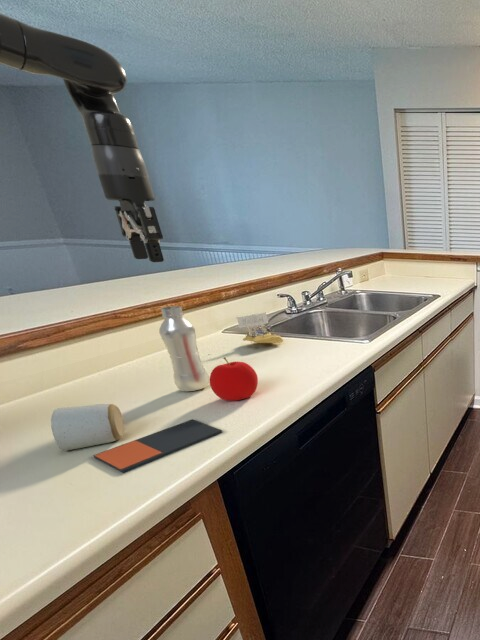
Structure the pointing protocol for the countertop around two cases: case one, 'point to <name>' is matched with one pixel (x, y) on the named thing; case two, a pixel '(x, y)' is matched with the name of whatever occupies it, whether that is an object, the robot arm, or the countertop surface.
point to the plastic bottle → (182, 350)
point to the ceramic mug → (86, 425)
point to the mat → (156, 445)
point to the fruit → (233, 381)
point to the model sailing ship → (259, 336)
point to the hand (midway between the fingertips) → (149, 260)
